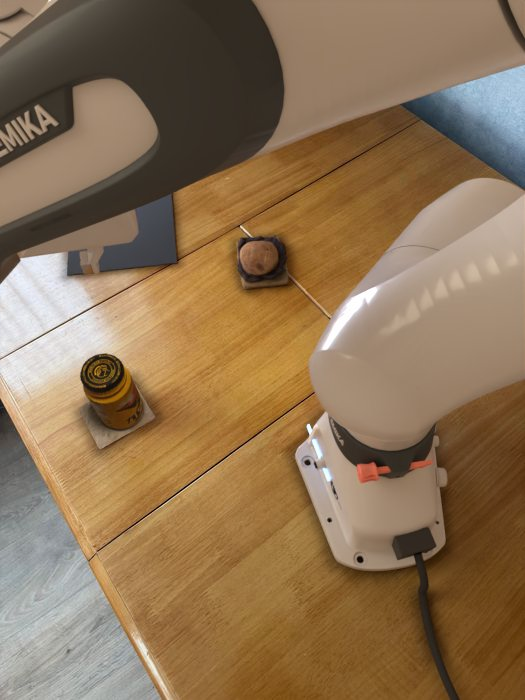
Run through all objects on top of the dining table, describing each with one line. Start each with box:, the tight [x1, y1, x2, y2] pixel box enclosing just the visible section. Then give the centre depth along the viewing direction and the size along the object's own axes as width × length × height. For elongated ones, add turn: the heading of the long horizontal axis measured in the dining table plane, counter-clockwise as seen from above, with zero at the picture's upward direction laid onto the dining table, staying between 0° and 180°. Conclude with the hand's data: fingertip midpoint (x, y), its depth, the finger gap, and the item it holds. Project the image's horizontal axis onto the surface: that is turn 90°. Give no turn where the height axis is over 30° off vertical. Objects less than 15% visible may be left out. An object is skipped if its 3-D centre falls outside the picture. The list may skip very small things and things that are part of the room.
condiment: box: [77, 352, 156, 450], centre depth 69 cm, size 7×8×12 cm
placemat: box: [66, 193, 178, 276], centre depth 92 cm, size 20×18×1 cm
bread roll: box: [235, 234, 290, 290], centre depth 86 cm, size 11×8×4 cm
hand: (42, 276), depth 51 cm, fingers open, 8 cm apart
